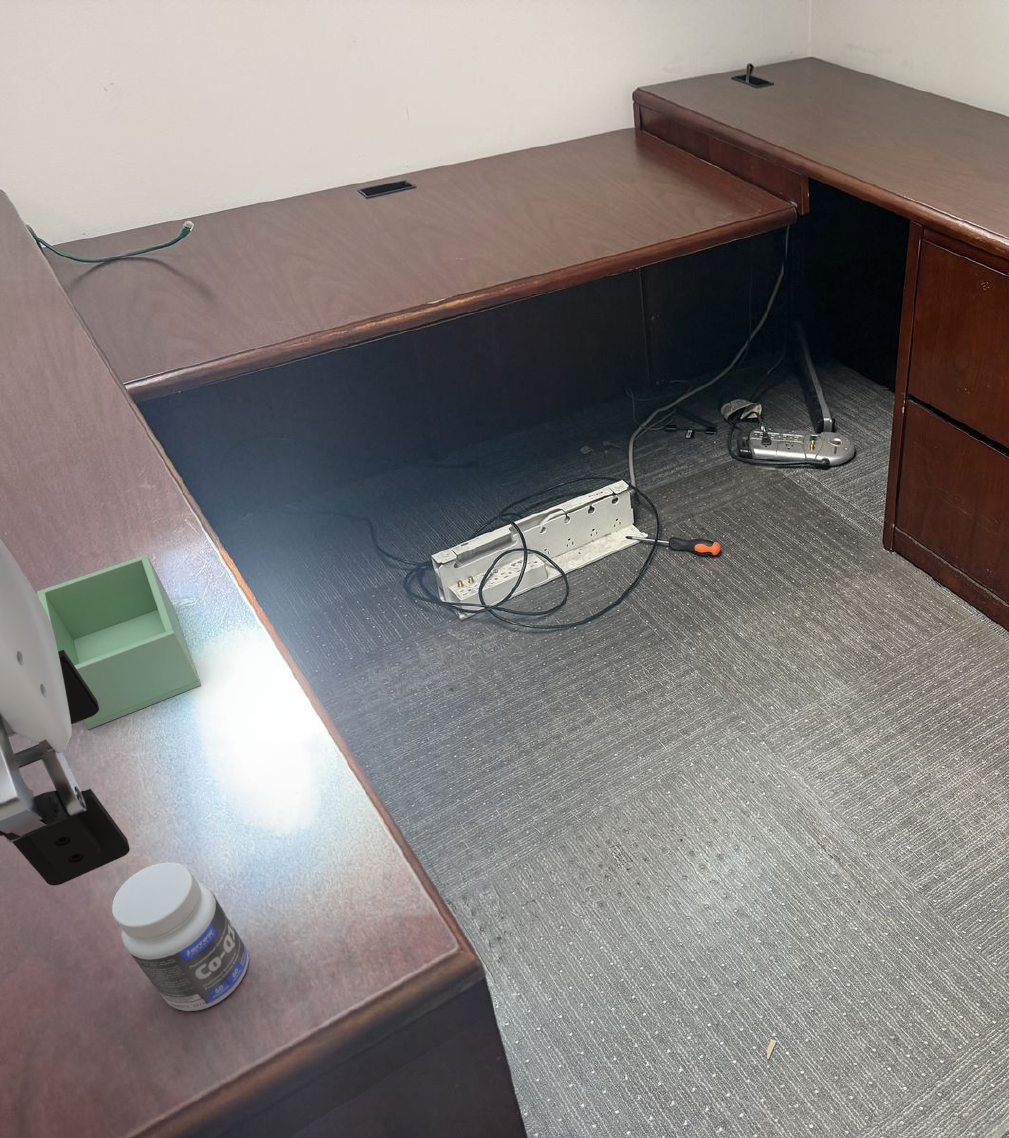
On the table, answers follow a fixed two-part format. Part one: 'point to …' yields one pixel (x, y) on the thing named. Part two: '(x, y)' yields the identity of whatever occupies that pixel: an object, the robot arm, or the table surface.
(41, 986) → the table surface
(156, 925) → the pill bottle
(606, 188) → the table surface
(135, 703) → the bin
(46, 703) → the robot arm
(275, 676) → the table surface
